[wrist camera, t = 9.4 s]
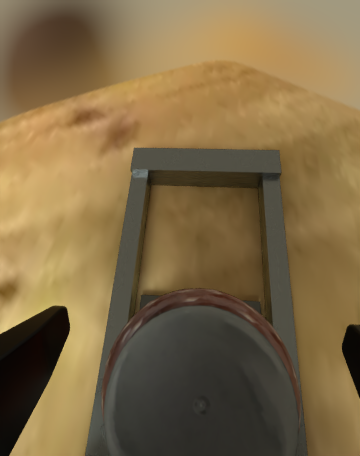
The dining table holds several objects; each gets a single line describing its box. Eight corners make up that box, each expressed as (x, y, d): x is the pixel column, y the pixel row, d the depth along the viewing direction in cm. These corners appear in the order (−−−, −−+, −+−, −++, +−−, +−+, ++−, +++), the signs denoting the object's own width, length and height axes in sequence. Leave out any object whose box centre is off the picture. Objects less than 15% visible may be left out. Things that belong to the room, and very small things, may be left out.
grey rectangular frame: (300, 482, 14) (316, 502, 12) (92, 460, 14) (78, 476, 13) (272, 167, 22) (279, 150, 20) (139, 164, 22) (134, 147, 21)
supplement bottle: (200, 294, 17) (209, 214, 7) (271, 373, 15) (428, 423, 5) (126, 362, 16) (2, 385, 6) (193, 459, 14) (191, 767, 4)
